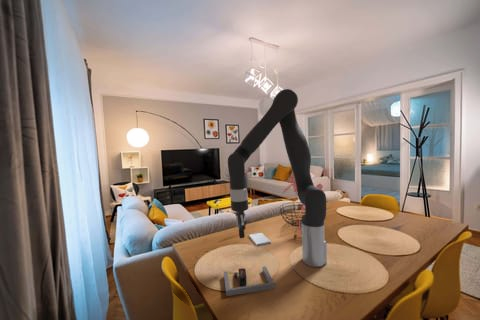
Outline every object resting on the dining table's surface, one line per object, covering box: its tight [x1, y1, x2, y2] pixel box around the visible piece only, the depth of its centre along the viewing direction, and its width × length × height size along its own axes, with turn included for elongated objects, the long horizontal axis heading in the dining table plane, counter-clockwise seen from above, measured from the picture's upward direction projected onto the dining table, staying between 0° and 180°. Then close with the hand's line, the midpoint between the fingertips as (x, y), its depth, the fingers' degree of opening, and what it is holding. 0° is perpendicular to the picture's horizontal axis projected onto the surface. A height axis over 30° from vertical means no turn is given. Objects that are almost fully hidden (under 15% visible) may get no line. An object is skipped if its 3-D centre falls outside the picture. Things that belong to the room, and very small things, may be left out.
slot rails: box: [223, 265, 275, 297], centre depth 77 cm, size 17×11×2 cm, turn 99°
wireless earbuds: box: [233, 267, 248, 287], centre depth 78 cm, size 5×7×3 cm, turn 2°
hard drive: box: [248, 232, 272, 247], centre depth 112 cm, size 2×8×12 cm
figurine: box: [282, 177, 323, 235], centre depth 119 cm, size 15×26×35 cm, turn 114°
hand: (241, 237), depth 88 cm, fingers closed
